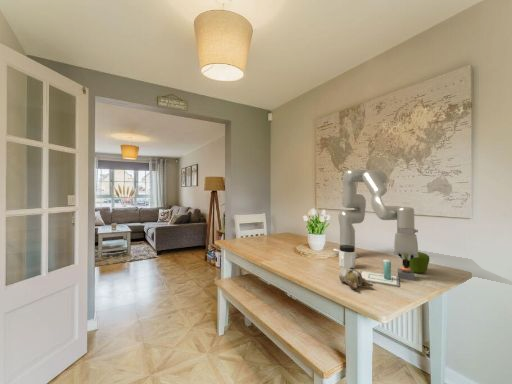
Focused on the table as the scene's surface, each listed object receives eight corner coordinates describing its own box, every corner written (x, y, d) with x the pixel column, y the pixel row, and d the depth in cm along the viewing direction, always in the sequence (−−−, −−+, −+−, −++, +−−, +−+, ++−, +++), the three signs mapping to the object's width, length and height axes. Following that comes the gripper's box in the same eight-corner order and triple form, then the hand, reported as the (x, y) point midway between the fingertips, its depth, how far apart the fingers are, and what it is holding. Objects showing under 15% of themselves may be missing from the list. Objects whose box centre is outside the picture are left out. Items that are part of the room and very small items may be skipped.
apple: (434, 276, 125) (434, 254, 125) (408, 274, 127) (407, 253, 127) (422, 268, 137) (422, 248, 137) (399, 267, 140) (398, 247, 140)
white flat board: (356, 280, 119) (356, 278, 119) (360, 271, 132) (360, 270, 132) (399, 287, 110) (399, 285, 110) (398, 277, 123) (398, 275, 123)
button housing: (397, 278, 121) (397, 272, 121) (397, 274, 127) (397, 268, 128) (414, 280, 118) (414, 274, 118) (413, 276, 124) (413, 270, 124)
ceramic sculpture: (349, 261, 121) (374, 272, 107) (349, 278, 121) (374, 291, 107) (332, 263, 117) (356, 275, 103) (332, 281, 117) (355, 295, 103)
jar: (336, 265, 144) (336, 245, 144) (347, 264, 146) (347, 244, 146) (346, 269, 135) (346, 248, 135) (358, 268, 138) (358, 247, 138)
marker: (383, 279, 118) (383, 260, 118) (383, 277, 121) (383, 259, 121) (391, 280, 117) (390, 261, 117) (391, 278, 120) (391, 260, 120)
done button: (400, 276, 122) (400, 267, 122) (400, 274, 126) (400, 265, 126) (411, 278, 120) (411, 269, 120) (410, 275, 124) (410, 266, 124)
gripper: (422, 231, 122) (423, 267, 122) (389, 229, 130) (389, 263, 130) (424, 233, 116) (424, 271, 116) (388, 231, 123) (389, 267, 123)
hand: (406, 267), depth 123 cm, fingers closed
